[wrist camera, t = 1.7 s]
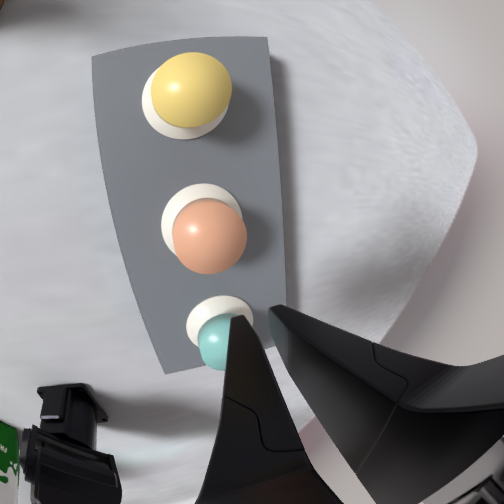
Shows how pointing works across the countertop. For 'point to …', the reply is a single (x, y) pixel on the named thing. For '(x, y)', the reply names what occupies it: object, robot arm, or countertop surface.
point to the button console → (192, 190)
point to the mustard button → (190, 90)
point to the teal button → (215, 340)
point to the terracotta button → (208, 236)
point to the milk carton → (9, 465)
